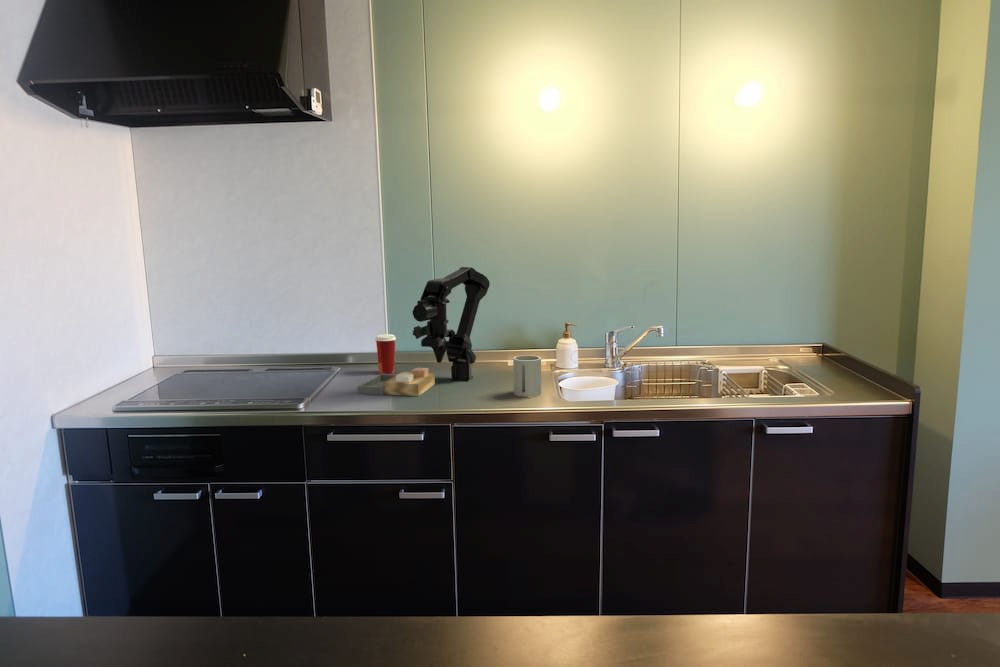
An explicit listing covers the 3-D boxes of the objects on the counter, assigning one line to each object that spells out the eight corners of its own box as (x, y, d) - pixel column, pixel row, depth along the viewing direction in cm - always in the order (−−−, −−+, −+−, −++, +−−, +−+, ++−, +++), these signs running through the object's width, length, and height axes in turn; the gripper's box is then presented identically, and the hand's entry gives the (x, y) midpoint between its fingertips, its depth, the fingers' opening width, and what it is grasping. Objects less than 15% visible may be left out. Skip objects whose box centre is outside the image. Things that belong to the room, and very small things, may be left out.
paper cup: (401, 371, 261) (399, 334, 258) (389, 375, 254) (388, 338, 251) (383, 369, 264) (382, 333, 262) (372, 373, 257) (370, 336, 255)
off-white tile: (413, 379, 230) (413, 373, 230) (408, 382, 226) (408, 376, 226) (401, 378, 231) (400, 373, 231) (396, 381, 227) (395, 376, 227)
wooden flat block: (434, 384, 240) (434, 373, 239) (418, 396, 224) (418, 384, 224) (402, 382, 243) (402, 371, 242) (384, 394, 227) (383, 382, 227)
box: (403, 381, 244) (403, 375, 243) (383, 394, 226) (382, 387, 226) (380, 380, 246) (379, 373, 245) (358, 393, 228) (357, 385, 228)
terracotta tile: (428, 373, 238) (428, 368, 238) (424, 376, 234) (423, 371, 234) (416, 373, 239) (416, 367, 239) (411, 376, 235) (411, 370, 235)
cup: (537, 389, 232) (537, 354, 230) (543, 396, 223) (543, 360, 221) (511, 390, 231) (510, 355, 228) (516, 397, 222) (516, 361, 220)
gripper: (425, 312, 242) (426, 356, 245) (405, 321, 225) (407, 367, 227) (455, 313, 240) (456, 357, 243) (437, 322, 222) (439, 369, 225)
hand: (439, 362), depth 234 cm, fingers closed
